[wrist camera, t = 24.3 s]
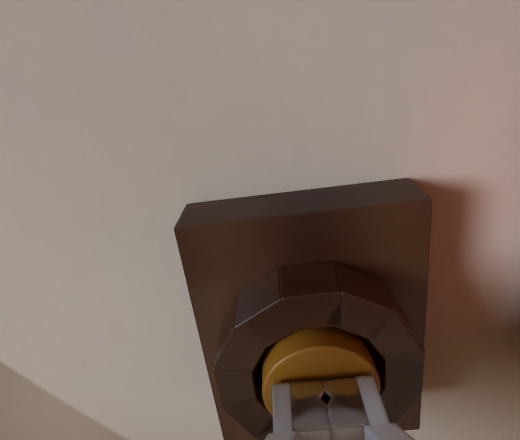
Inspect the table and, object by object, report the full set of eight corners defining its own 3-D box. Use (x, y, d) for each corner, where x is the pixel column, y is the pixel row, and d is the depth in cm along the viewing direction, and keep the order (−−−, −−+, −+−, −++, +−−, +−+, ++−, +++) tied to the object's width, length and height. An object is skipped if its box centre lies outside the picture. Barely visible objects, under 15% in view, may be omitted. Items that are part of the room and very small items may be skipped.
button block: (229, 401, 18) (220, 491, 14) (186, 203, 14) (158, 256, 10) (401, 386, 17) (439, 475, 14) (407, 177, 13) (462, 222, 10)
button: (268, 395, 14) (269, 439, 12) (255, 315, 12) (254, 353, 11) (367, 386, 14) (381, 430, 12) (365, 304, 12) (381, 341, 11)
